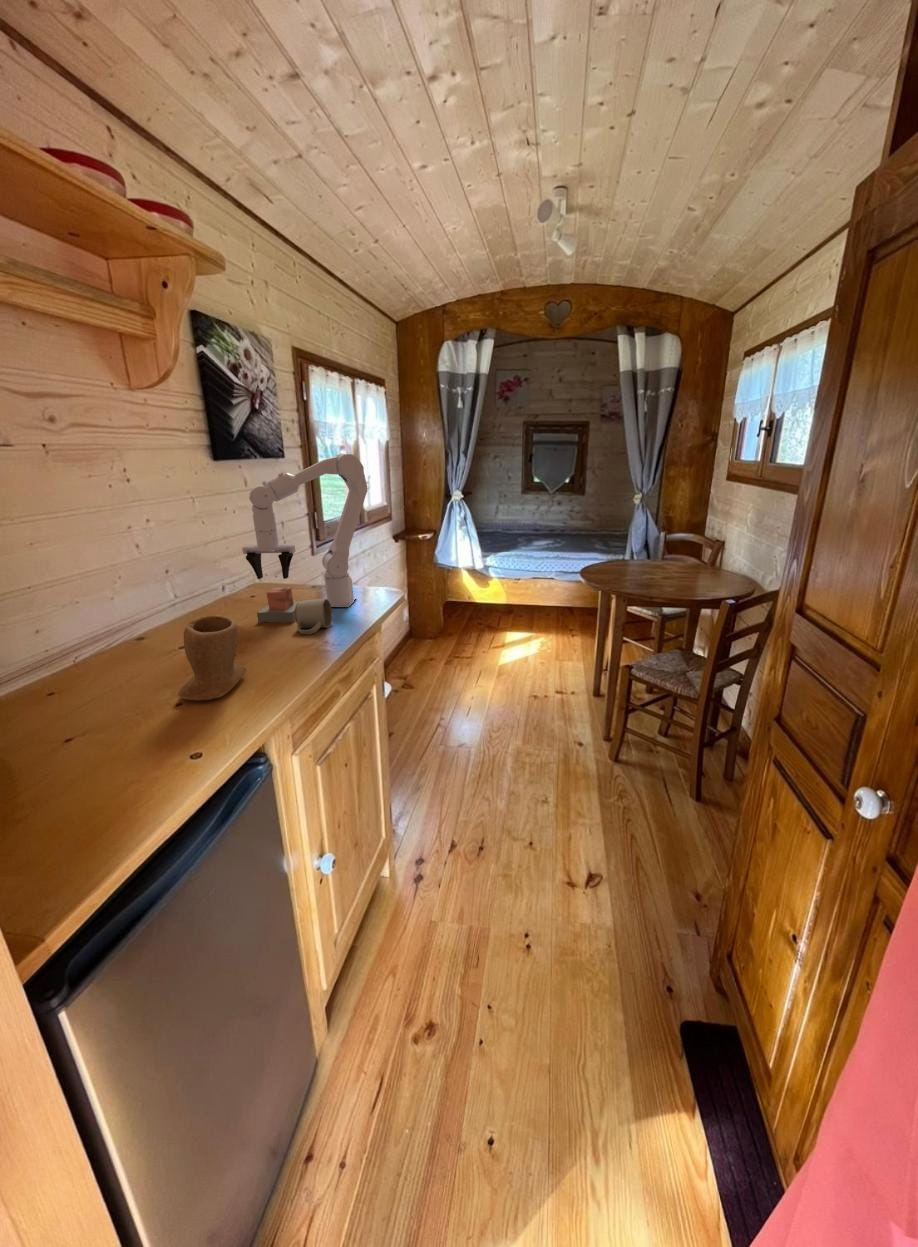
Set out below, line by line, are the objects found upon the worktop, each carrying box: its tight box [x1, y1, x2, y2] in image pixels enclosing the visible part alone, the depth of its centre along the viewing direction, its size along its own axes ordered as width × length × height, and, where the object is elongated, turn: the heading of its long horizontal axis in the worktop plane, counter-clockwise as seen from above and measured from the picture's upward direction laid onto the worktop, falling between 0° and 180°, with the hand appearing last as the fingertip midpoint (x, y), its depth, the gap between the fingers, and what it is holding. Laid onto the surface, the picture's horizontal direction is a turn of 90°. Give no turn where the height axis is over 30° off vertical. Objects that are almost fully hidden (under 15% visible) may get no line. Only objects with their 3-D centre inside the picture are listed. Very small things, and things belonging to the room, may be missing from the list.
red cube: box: [266, 587, 294, 610], centre depth 153 cm, size 5×5×5 cm
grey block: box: [256, 601, 299, 624], centre depth 154 cm, size 10×10×4 cm
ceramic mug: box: [295, 598, 333, 635], centre depth 142 cm, size 11×8×8 cm
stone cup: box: [177, 614, 248, 701], centre depth 107 cm, size 15×12×15 cm
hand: (273, 578), depth 155 cm, fingers open, 7 cm apart
